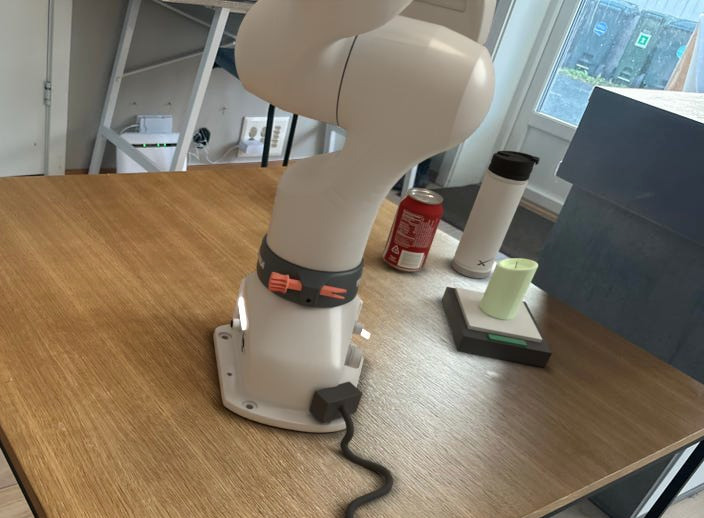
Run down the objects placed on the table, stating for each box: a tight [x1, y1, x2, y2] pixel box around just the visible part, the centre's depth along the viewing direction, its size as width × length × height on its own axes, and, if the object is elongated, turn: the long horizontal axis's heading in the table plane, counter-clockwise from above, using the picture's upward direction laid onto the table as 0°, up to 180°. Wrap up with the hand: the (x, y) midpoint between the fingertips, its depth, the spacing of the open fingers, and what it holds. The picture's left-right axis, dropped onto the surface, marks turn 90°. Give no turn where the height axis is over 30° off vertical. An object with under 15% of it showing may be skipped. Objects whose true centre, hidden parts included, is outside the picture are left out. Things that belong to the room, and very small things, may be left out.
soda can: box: [382, 187, 444, 273], centre depth 111 cm, size 7×7×12 cm
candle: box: [480, 257, 539, 320], centre depth 97 cm, size 5×5×8 cm
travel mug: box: [451, 150, 540, 279], centre depth 111 cm, size 6×7×20 cm
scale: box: [441, 286, 553, 368], centre depth 100 cm, size 14×12×3 cm
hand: (397, 68), depth 96 cm, fingers open, 8 cm apart
